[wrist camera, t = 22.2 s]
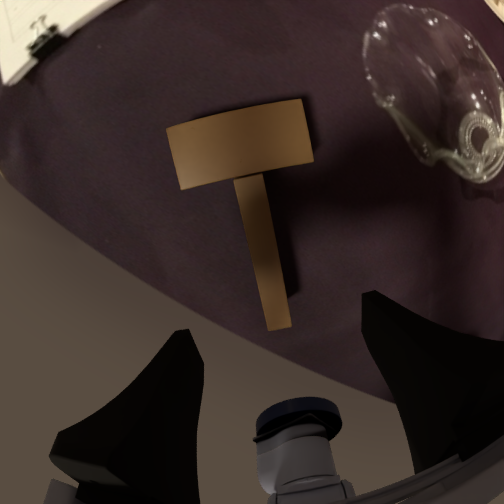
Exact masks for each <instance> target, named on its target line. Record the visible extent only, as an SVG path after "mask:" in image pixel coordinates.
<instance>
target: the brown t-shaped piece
mask: <svg viewBox="0 0 504 504" xmlns="http://www.w3.org/2000/svg"><path fill="white" fill-rule="evenodd" d="M166 131H167V136H168V140H169V144H170V148H171V152H172V157H173V161H174V165H175V169H176V173H177V177H178V180H179V184H180V188H181V190H185V189H189V188H193V187H197V186H201V185H205V184H209V183H213V182H217V181H222V180H226V179H230V178H234V180H233V182H234V186H235V190H236V194H237V199H238V203H239V207H240V212H241V216H242V220H243V225H244V229H245V233H246V238H247V242H248V246H249V250H250V255H251V259H252V263H253V268H254V272H255V276H256V280H257V285H258V289H259V293H260V297H261V302H262V306H263V310H264V315H265V319H266V323H267V327H268V331H272V330H277V329H282V328H287V327H291V326H292V323H291V318H290V312H289V306H288V301H287V295H286V290H285V284H284V279H283V274H282V268H281V263H280V258H279V253H278V247H277V242H276V237H275V232H274V227H273V222H272V217H271V212H270V207H269V202H268V197H267V193H266V188H265V183H264V178H263V174H262V173H261V172H263V171H268V170H273V169H278V168H283V167H288V166H294V165H299V164H305V163H311V162H314V157H313V152H312V147H311V141H310V136H309V131H308V127H307V122H306V117H305V113H304V108H303V104H302V100H301V99H294V100H287V101H281V102H274V103H268V104H263V105H257V106H252V107H247V108H242V109H237V110H233V111H228V112H224V113H220V114H216V115H212V116H208V117H204V118H200V119H196V120H192V121H189V122H185V123H182V124H178V125H175V126H172V127H169V128H166Z"/></svg>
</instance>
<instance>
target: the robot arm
mask: <svg viewBox="0 0 504 504" xmlns="http://www.w3.org/2000/svg"><path fill="white" fill-rule="evenodd" d="M361 332H362V334H363V337H364V339H365V342H366V345H367V347H368V350H369V352H370V354H371V355H372V357H373V359H374V361H375V363H376V365H377V366H378V368H379V370H380V372H381V374H382V376H383V377H384V379H385V381H386V383H387V385H388V387H389V389H390V391H391V393H392V395H393V397H394V400H395V403H396V405H397V408H398V411H399V413H400V417H401V420H402V423H403V426H404V429H405V432H406V436H407V440H408V444H409V448H410V452H411V456H412V461H413V466H414V472H415V475H413V476H411V477H409V478H406V479H404V480H401V481H399V482H396V483H394V484H391V485H388V486H385V487H383V488H380V489H377V490H374V491H371V492H368V493H365V494H361V495H358V496H355V492H354V489H353V486H352V484H351V483H350V482H348V481H347V480H341V481H340V476H339V475H337V473H336V469H335V465H334V461H333V457H332V452H331V448H330V444H329V440H328V438H329V437H331V436H334V435H336V434H337V431H336V430H335V429H334V428H332V427H331V426H329V425H328V424H326V423H325V422H323V421H322V420H320V419H319V418H317V417H316V416H315V415H313V414H312V413H307V414H305V415H303V416H301V417H299V418H297V419H295V420H293V421H291V422H288V423H286V424H284V425H282V426H280V427H278V428H275V429H273V430H271V431H268V432H266V433H264V434H261V435H259V436H256V437H254V438H253V442H255V443H256V448H257V469H258V479H259V482H260V484H261V486H262V488H263V489H264V490H265V491H266V492H267V493H268V494H270V495H271V496H270V497H269V498H268V504H395V503H397V502H399V501H402V500H404V501H402V502H400V503H398V504H487V503H489V502H490V501H491V500H493V499H494V498H495V497H497V496H498V495H499V494H501V493H502V492H503V491H504V341H496V340H490V339H484V338H479V337H475V336H471V335H467V334H464V333H460V332H457V331H454V330H451V329H449V328H446V327H444V326H441V325H439V324H436V323H434V322H432V321H430V320H428V319H426V318H424V317H422V316H420V315H418V314H416V313H414V312H412V311H410V310H408V309H407V308H405V307H403V306H401V305H400V304H398V303H396V302H395V301H393V300H391V299H390V298H388V297H386V296H385V295H383V294H381V293H379V292H378V291H376V290H373V291H370V292H366V293H362V328H361ZM203 385H204V362H203V360H202V358H201V356H200V354H199V351H198V349H197V347H196V344H195V342H194V340H193V337H192V335H191V333H190V330H189V329H185V330H178V331H175V332H174V333H173V334H172V335H171V337H170V338H169V339H168V340H167V342H166V343H165V344H164V345H163V347H162V348H161V349H160V350H159V352H158V353H157V354H156V355H155V357H154V358H153V359H152V360H151V362H150V363H149V364H148V365H147V366H146V367H145V368H144V370H143V371H142V372H141V373H140V374H139V375H138V376H137V377H136V379H135V380H134V381H133V382H132V383H131V384H130V385H129V386H128V387H126V388H125V389H124V390H123V391H122V392H121V393H120V394H119V395H118V396H116V397H115V398H114V399H113V400H111V401H110V402H109V403H107V404H106V405H105V406H104V407H102V408H101V409H100V410H98V411H97V412H95V413H94V414H92V415H90V416H89V417H87V418H85V419H84V420H82V421H80V422H78V423H76V424H75V425H73V426H71V427H69V428H66V429H64V430H62V431H60V432H58V434H57V437H56V439H55V442H54V444H53V447H52V449H51V452H50V454H49V458H50V460H51V461H52V463H53V464H54V465H55V466H57V467H58V468H59V469H60V470H62V471H63V472H64V473H66V474H67V475H68V476H70V477H71V478H73V479H74V480H76V481H77V482H78V483H79V486H78V488H76V487H73V486H71V485H69V484H66V483H63V482H60V481H58V480H55V479H51V482H50V485H49V488H48V491H47V494H46V497H45V500H44V504H200V498H199V489H198V476H197V427H198V420H199V413H200V406H201V400H202V393H203ZM409 497H410V498H409ZM407 498H408V499H407ZM405 499H406V500H405Z"/></svg>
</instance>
